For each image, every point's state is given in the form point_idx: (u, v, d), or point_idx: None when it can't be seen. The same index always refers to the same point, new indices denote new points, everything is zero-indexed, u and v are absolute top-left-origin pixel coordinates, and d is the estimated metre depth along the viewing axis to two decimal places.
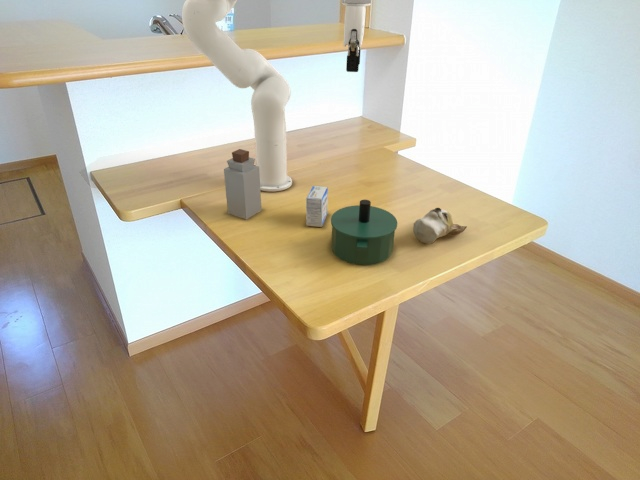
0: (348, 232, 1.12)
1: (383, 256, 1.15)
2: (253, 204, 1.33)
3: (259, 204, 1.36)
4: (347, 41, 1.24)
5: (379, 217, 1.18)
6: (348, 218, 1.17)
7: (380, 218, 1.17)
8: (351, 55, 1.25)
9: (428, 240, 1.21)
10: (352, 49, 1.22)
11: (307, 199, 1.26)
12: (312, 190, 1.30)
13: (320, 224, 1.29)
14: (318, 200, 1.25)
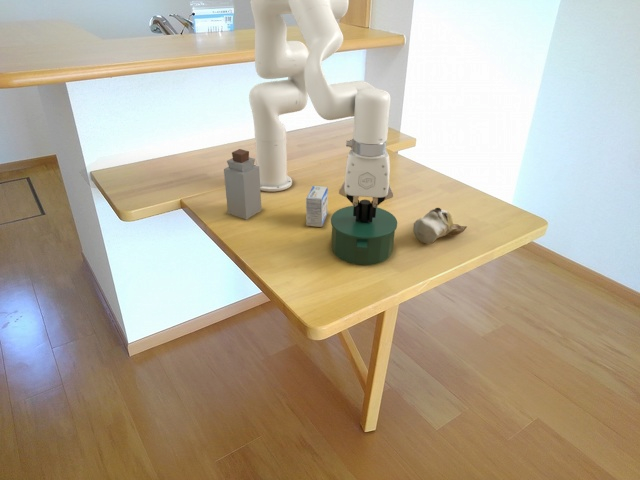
0: (348, 232, 1.12)
1: (383, 256, 1.15)
2: (253, 204, 1.33)
3: (259, 204, 1.36)
4: None
5: (379, 217, 1.18)
6: (348, 218, 1.17)
7: (380, 218, 1.17)
8: None
9: (428, 240, 1.21)
10: None
11: (307, 199, 1.26)
12: (312, 190, 1.30)
13: (320, 224, 1.29)
14: (318, 200, 1.25)
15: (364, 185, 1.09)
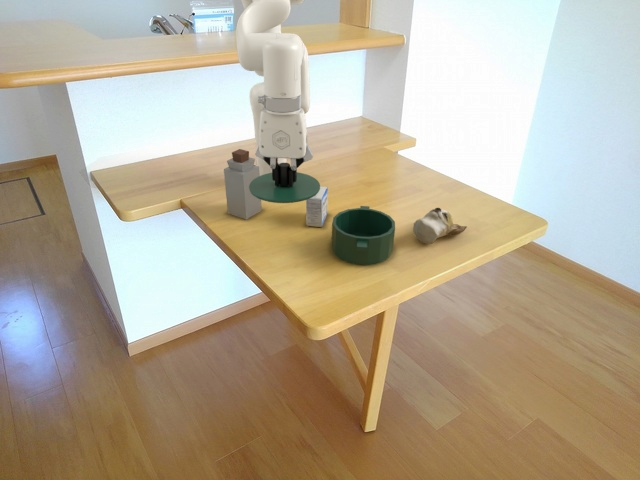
0: (264, 196, 1.05)
1: (383, 256, 1.15)
2: (253, 204, 1.33)
3: (259, 204, 1.36)
4: None
5: (302, 182, 1.11)
6: (268, 183, 1.10)
7: (303, 183, 1.11)
8: (297, 167, 1.07)
9: (428, 240, 1.21)
10: None
11: (307, 199, 1.26)
12: None
13: (320, 224, 1.29)
14: (318, 200, 1.25)
15: (279, 145, 1.02)
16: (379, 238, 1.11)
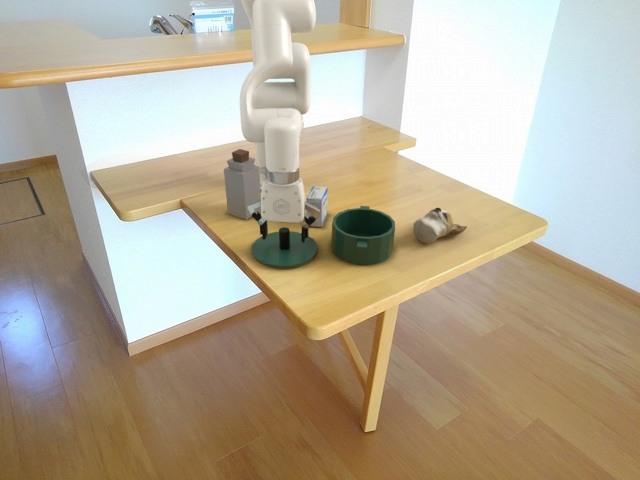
0: (266, 260, 1.13)
1: (383, 256, 1.15)
2: None
3: None
4: (303, 215, 1.12)
5: (300, 244, 1.20)
6: (270, 245, 1.19)
7: (301, 245, 1.19)
8: None
9: (428, 240, 1.21)
10: (315, 219, 1.13)
11: (307, 199, 1.26)
12: (312, 190, 1.30)
13: (320, 224, 1.29)
14: (318, 200, 1.25)
15: (279, 211, 1.10)
16: (379, 238, 1.11)
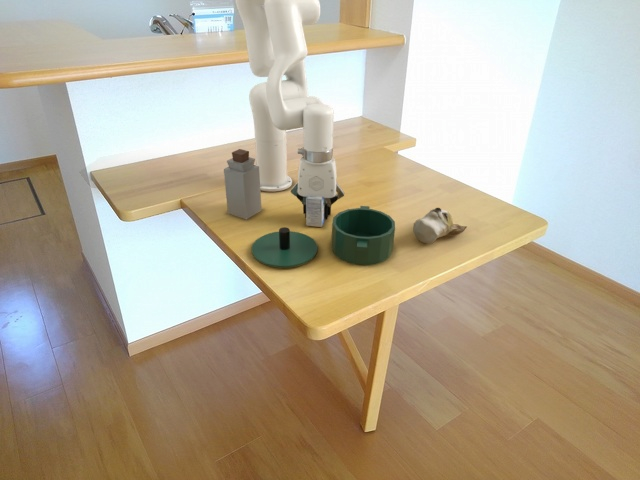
0: (266, 260, 1.13)
1: (383, 256, 1.15)
2: (253, 204, 1.33)
3: (259, 204, 1.36)
4: None
5: (300, 244, 1.20)
6: (270, 245, 1.19)
7: (301, 245, 1.19)
8: None
9: (428, 240, 1.21)
10: None
11: (307, 199, 1.26)
12: None
13: (320, 224, 1.29)
14: (318, 200, 1.25)
15: (314, 187, 1.25)
16: (379, 238, 1.11)
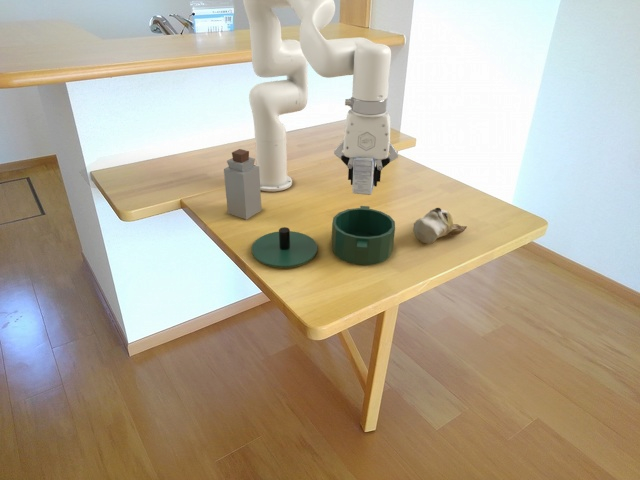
0: (266, 260, 1.13)
1: (383, 256, 1.15)
2: (253, 204, 1.33)
3: (259, 204, 1.36)
4: None
5: (300, 244, 1.20)
6: (270, 245, 1.19)
7: (301, 245, 1.19)
8: None
9: (428, 240, 1.21)
10: None
11: (355, 160, 1.06)
12: None
13: (369, 191, 1.09)
14: (368, 161, 1.05)
15: (364, 146, 1.05)
16: (379, 238, 1.11)
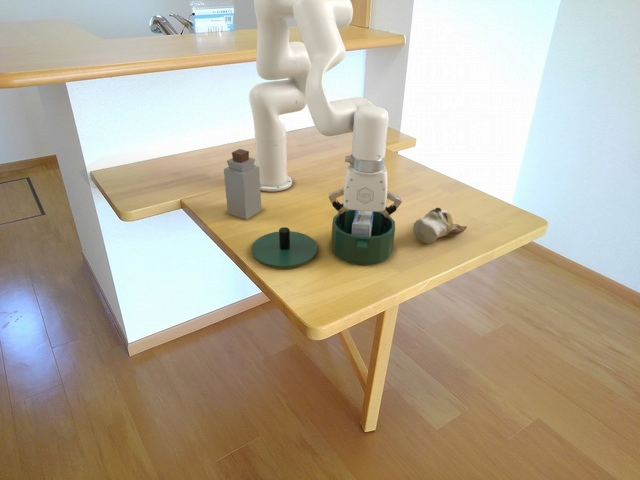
0: (266, 260, 1.13)
1: (383, 256, 1.15)
2: (253, 204, 1.33)
3: (259, 204, 1.36)
4: None
5: (300, 244, 1.20)
6: (270, 245, 1.19)
7: (301, 245, 1.19)
8: None
9: (428, 240, 1.21)
10: None
11: (353, 225, 1.13)
12: (357, 214, 1.17)
13: None
14: (365, 226, 1.13)
15: (362, 200, 1.11)
16: (379, 238, 1.11)
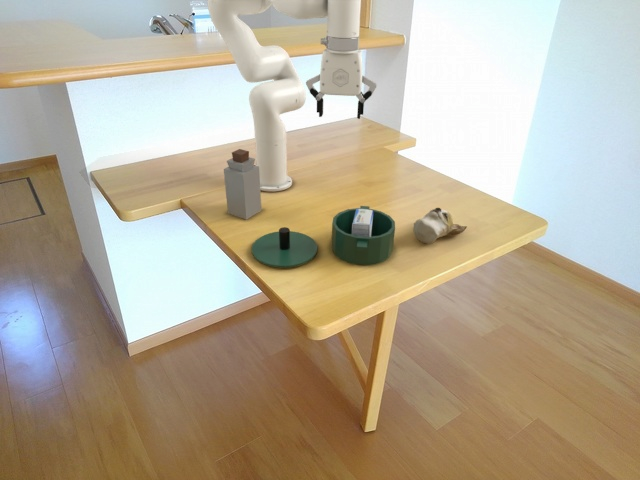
0: (266, 260, 1.13)
1: (383, 256, 1.15)
2: (253, 204, 1.33)
3: (259, 204, 1.36)
4: (361, 88, 1.16)
5: (300, 244, 1.20)
6: (270, 245, 1.19)
7: (301, 245, 1.19)
8: (365, 100, 1.18)
9: (428, 240, 1.21)
10: (371, 93, 1.17)
11: (353, 225, 1.13)
12: (357, 214, 1.17)
13: None
14: (365, 226, 1.13)
15: (338, 82, 1.14)
16: (379, 238, 1.11)
